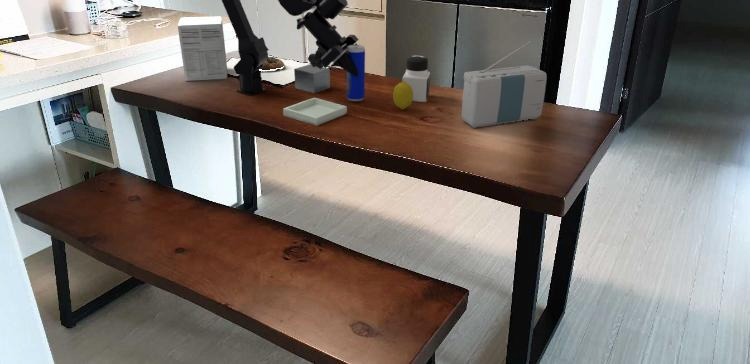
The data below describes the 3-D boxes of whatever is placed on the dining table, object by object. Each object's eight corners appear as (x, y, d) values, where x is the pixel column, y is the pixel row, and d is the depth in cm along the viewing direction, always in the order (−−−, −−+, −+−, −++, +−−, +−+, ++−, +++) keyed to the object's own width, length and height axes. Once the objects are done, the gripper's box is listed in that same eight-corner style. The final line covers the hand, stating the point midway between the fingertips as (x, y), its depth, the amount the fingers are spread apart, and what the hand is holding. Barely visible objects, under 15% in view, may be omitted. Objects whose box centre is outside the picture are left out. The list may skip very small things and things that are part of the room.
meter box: (295, 88, 172) (294, 68, 170) (311, 82, 178) (310, 64, 175) (314, 93, 168) (313, 73, 165) (330, 87, 173) (330, 68, 171)
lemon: (415, 108, 157) (416, 80, 153) (408, 114, 152) (409, 85, 149) (397, 105, 159) (397, 77, 155) (389, 111, 154) (389, 82, 151)
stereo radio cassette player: (473, 131, 142) (480, 52, 133) (457, 120, 148) (463, 44, 139) (542, 121, 148) (553, 45, 140) (523, 111, 155) (533, 38, 146)
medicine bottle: (426, 102, 161) (428, 61, 156) (401, 100, 163) (403, 59, 157) (429, 95, 168) (431, 54, 162) (405, 93, 169) (406, 53, 163)
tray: (283, 115, 150) (283, 108, 150) (314, 104, 159) (314, 97, 158) (316, 125, 144) (316, 118, 143) (346, 113, 152) (346, 106, 152)
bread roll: (250, 72, 187) (249, 57, 186) (254, 68, 198) (253, 54, 196) (284, 73, 188) (283, 58, 187) (286, 69, 199) (286, 54, 197)
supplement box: (227, 79, 181) (221, 23, 173) (185, 81, 178) (176, 25, 170) (227, 68, 192) (222, 15, 184) (187, 70, 189) (180, 17, 182)
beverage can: (346, 96, 164) (346, 44, 157) (363, 95, 165) (364, 44, 158) (346, 101, 160) (346, 48, 153) (365, 101, 160) (365, 48, 153)
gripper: (314, 42, 168) (350, 82, 170) (291, 57, 151) (331, 100, 154) (339, 17, 162) (376, 58, 165) (318, 29, 146) (359, 74, 149)
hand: (360, 73), depth 158 cm, fingers closed on beverage can, 5 cm apart
